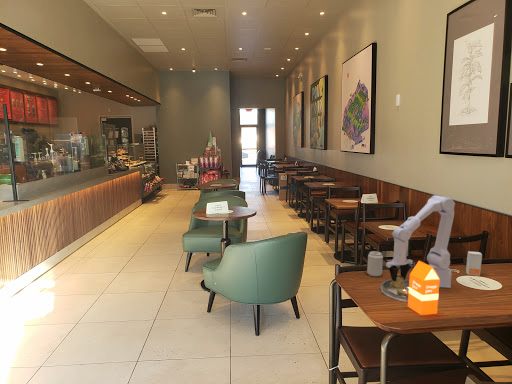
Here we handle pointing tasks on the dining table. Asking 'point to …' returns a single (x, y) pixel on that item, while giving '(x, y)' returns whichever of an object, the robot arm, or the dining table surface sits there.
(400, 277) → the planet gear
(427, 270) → the orange juice
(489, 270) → the dining table surface
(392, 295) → the carrier
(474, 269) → the skincare box
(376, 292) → the dining table surface
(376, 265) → the can
